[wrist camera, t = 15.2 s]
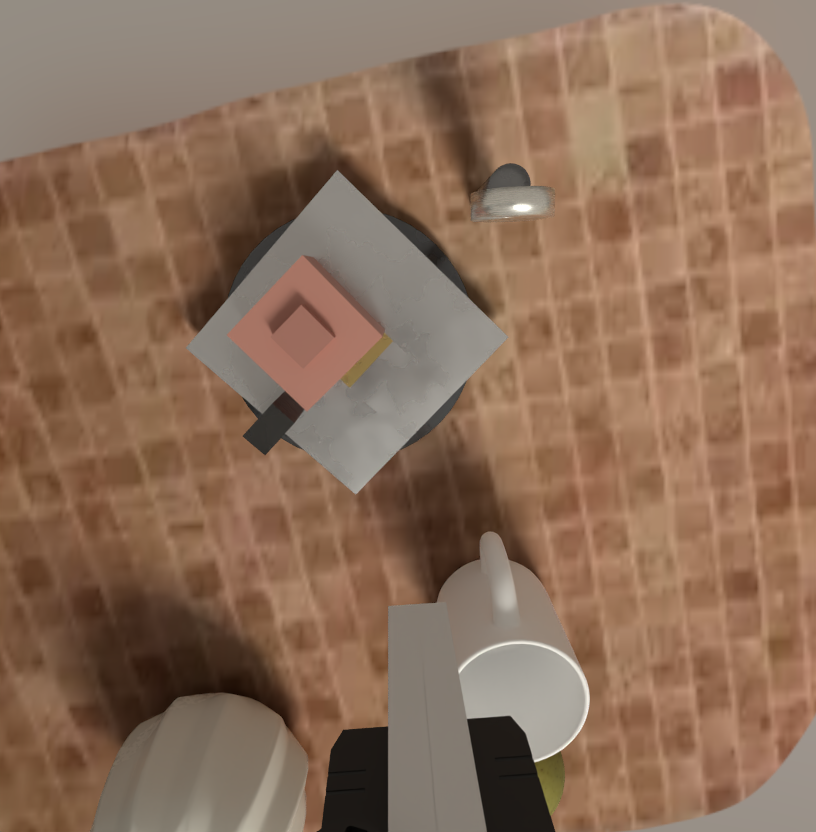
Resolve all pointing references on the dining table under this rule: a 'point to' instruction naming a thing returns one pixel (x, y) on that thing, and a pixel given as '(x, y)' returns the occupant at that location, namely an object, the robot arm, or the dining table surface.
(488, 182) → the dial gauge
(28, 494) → the dining table surface
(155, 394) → the dining table surface
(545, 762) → the apple
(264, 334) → the cover
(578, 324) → the dining table surface
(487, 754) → the robot arm
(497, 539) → the mug
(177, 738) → the vase
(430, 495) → the dining table surface
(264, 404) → the turntable
